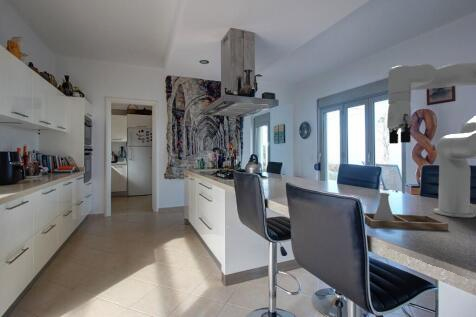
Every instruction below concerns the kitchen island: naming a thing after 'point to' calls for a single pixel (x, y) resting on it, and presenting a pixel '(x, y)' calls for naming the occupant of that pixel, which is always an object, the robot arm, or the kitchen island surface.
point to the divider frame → (407, 222)
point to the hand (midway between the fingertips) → (399, 143)
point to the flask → (384, 209)
